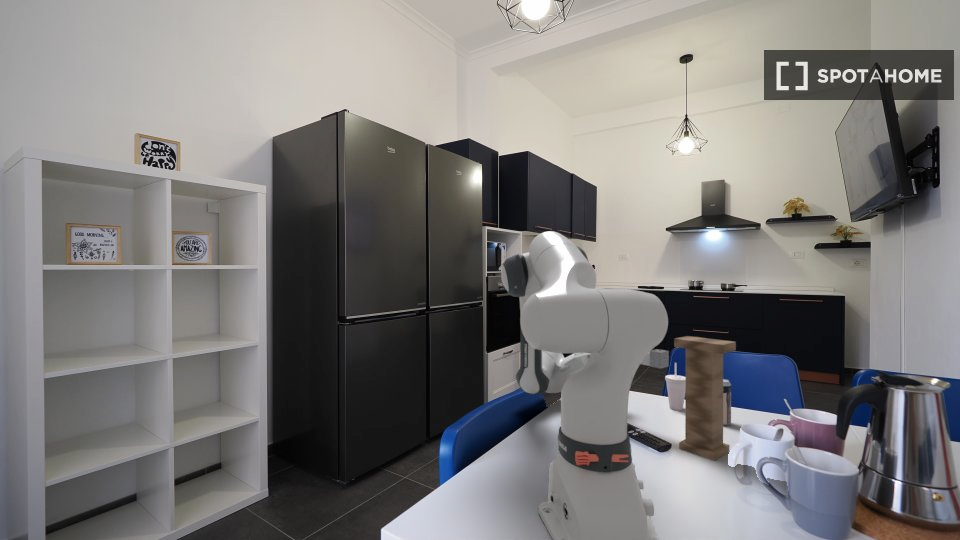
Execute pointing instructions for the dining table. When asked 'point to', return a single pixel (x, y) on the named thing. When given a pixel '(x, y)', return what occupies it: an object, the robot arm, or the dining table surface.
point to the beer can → (726, 402)
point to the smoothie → (676, 390)
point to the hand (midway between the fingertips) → (614, 350)
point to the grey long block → (656, 359)
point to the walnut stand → (704, 395)
